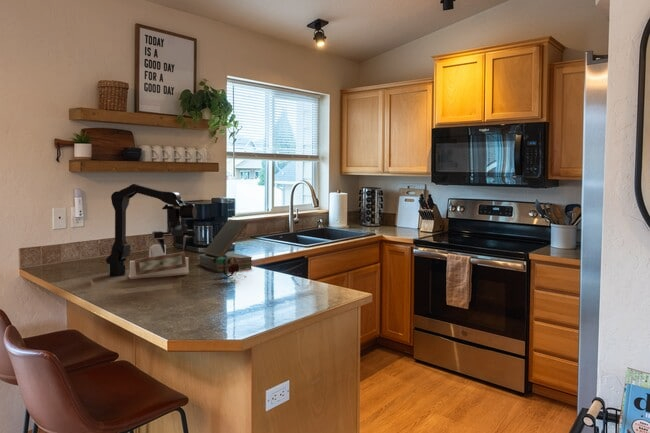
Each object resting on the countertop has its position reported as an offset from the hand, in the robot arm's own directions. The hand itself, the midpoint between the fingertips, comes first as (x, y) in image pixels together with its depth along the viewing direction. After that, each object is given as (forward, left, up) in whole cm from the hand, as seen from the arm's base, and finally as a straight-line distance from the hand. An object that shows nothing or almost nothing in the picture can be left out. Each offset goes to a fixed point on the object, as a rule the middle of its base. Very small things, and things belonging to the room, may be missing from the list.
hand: (174, 252), depth 223 cm
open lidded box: (+30, +15, -12) cm, 36 cm away
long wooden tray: (-6, +3, -11) cm, 13 cm away
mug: (-2, +29, -11) cm, 32 cm away
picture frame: (-6, 0, -5) cm, 8 cm away
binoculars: (+21, -12, -11) cm, 27 cm away
